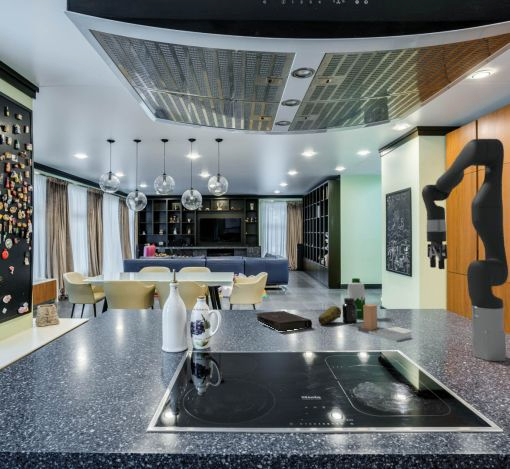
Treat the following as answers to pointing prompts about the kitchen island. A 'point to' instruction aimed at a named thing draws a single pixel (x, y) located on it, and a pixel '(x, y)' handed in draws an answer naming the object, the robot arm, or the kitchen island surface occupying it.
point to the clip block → (370, 316)
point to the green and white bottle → (357, 295)
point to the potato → (330, 315)
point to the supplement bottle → (349, 311)
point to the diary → (283, 320)
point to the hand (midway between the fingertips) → (437, 268)
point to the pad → (400, 329)
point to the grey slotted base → (381, 332)
